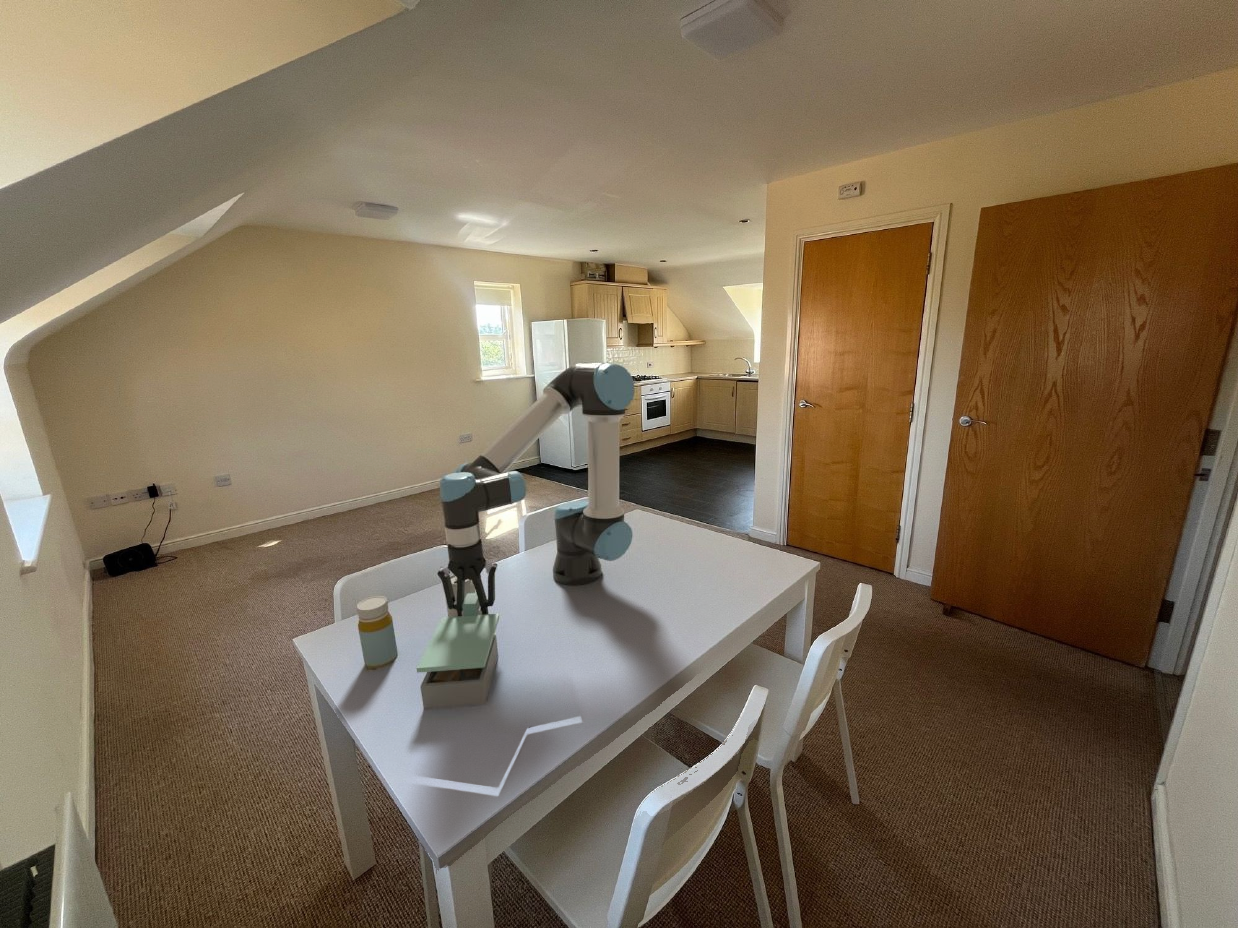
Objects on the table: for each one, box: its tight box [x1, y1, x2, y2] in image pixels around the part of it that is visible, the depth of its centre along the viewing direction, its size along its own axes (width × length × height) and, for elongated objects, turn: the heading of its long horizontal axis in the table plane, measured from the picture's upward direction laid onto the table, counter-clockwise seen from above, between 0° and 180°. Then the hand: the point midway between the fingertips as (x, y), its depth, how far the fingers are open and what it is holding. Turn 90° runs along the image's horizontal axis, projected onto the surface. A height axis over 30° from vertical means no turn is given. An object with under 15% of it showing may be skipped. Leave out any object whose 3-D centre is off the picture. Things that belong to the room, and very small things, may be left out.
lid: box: [416, 592, 500, 674], centre depth 107 cm, size 13×23×7 cm, turn 4°
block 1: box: [432, 669, 461, 683], centre depth 102 cm, size 4×4×4 cm
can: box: [445, 574, 476, 617], centre depth 129 cm, size 8×8×12 cm
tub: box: [419, 634, 499, 710], centre depth 105 cm, size 12×16×6 cm
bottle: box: [356, 595, 399, 671], centre depth 112 cm, size 7×7×15 cm
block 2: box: [465, 668, 483, 678], centre depth 108 cm, size 4×4×4 cm
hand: (475, 632), depth 117 cm, fingers closed on lid, 3 cm apart
